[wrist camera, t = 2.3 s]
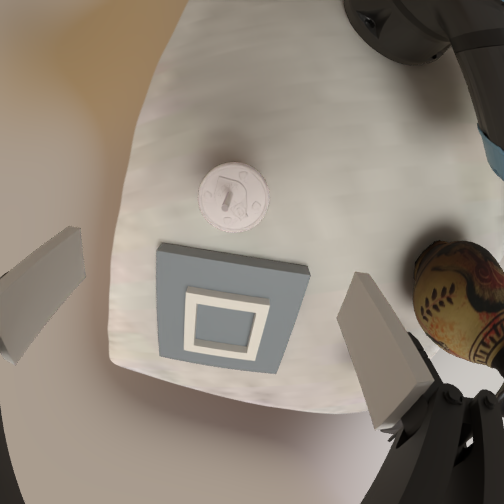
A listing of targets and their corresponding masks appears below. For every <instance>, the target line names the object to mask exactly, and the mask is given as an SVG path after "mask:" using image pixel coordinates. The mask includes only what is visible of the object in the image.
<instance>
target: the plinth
mask: <svg viewBox="0 0 504 504" xmlns="http://www.w3.org/2000/svg"><path fill="white" fill-rule="evenodd" d="M310 276H311V275H310V272H309V269H308V266H304V265H297V264H291V263H285V262H278V261H272V260H266V259H259V258H253V257H247V256H241V255H234V254H228V253H222V252H216V251H210V250H204V249H197V248H191V247H185V246H179V245H173V244H167V243H162V244H161V245H160V247H159V248H158V249H157V256H156V290H157V322H158V340H159V354H160V356H161V357H166V358H170V359H175V360H180V361H185V362H191V363H196V364H202V365H208V366H214V367H221V368H228V369H235V370H243V371H252V372H261V373H271V374H276V373H277V370H278V368H279V365H280V362H281V360H282V357H283V354H284V352H285V349H286V346H287V344H288V341H289V338H290V335H291V332H292V330H293V327H294V324H295V321H296V318H297V315H298V312H299V309H300V306H301V303H302V300H303V297H304V294H305V291H306V288H307V285H308V282H309V279H310Z"/></svg>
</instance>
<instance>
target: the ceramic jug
mask: <svg viewBox="0 0 504 504" xmlns="http://www.w3.org/2000/svg"><path fill="white" fill-rule="evenodd" d="M414 280H415V285H414V290H413V306H414V311H415V314H416V318H417V320H418V322H419V324H420V326H421V327H422V329H423V331H424V332H425V333H426V335H427V336H428V337H429V338H430V339H431V340H432V341H433V342H434V343H435V344H437V345H438V346H439V347H440V348H442V349H443V350H445V351H446V352H448V353H450V354H452V355H455V356H456V357H459V358H462V359H465V360H467V361H470V362H473V363H478V364H483V365H487V366H488V367H491V368H495V369H497V370H498V371H499V373H500V374H501V376H502V377H503V378H504V272H503V270H502V268H501V267H500V265H499V263H498V262H497V261H496V259H495V258H494V257H493V256H492V254H491V253H490V252H489V251H487V250H486V249H485V248H483V247H482V246H480V245H478V244H475V243H473V242H468V241H454V242H450V243H448V242H445V241H440V240H439V241H434V242H433V244H431V245H430V246H429V247H428V248H427V249H426V250H424V251H423V252H422V254H421V255H420V256H419V258H418V259H417V261H416V262H415V271H414ZM495 396H496V398H497V399H498V402H499V405H500V410H501V415H502V417H504V383H503V385H502V386H501V388H500V389H499V391H498V392H497V394H496V395H495Z"/></svg>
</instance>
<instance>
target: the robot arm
mask: <svg viewBox="0 0 504 504" xmlns="http://www.w3.org/2000/svg"><path fill="white" fill-rule="evenodd" d="M344 5H345V10H346V13H347V16H348V18H349V20H350V22H351V24H352V25H353V27H354V28H355V30H356V31H357V32H358V34H359V35H360V36H361V37H362V38H363V39H364V40H365V41H366V42H367V43H368V44H369V45H370V46H371V47H372V48H374V49H375V50H376V51H378V52H379V53H381V54H382V55H384V56H385V57H387V58H389V59H391V60H393V61H396V62H399V63H402V64H406V65H422V64H426V63H430V62H433V61H435V60H437V59H438V58H440V57H441V56H442V55H443V53H444V52H445V51H446V50H447V49H448V48H449V47H450V46H452V48H453V50H454V52H455V55H456V57H457V60H458V62H459V65H460V67H461V70H462V72H463V75H464V78H465V81H466V83H467V86H468V89H469V92H470V96H471V99H472V102H473V105H474V109H475V112H476V116H477V120H478V123H477V126H478V130H479V133H480V134H481V136H482V140H483V144H484V148H485V152H486V157H487V160H488V163H489V165H490V167H491V168H492V170H493V171H494V172H495V173H496V174H497V176H499V177H500V178H501V179H502V180H503V181H504V0H344ZM85 278H86V273H85V266H84V258H83V249H82V239H81V228H77V227H72V226H68V227H67V228H65V229H64V230H63V231H61V232H60V233H58V234H57V235H56V236H54V237H53V238H51V239H50V240H49V241H47V242H46V243H44V244H43V245H42V246H40V247H39V248H38V249H36V250H35V251H34V252H33V253H31V254H30V255H29V256H27V257H26V258H25V259H24V260H22V261H21V262H20V263H19V264H18V265H16V266H15V267H14V268H13V269H11V270H10V271H8V272H7V273H5V274H4V275H3V276H2V277H1V278H0V353H1V355H2V357H3V359H5V360H7V361H8V362H10V363H12V364H14V365H16V364H17V363H18V361H19V360H20V358H21V357H22V356H23V354H24V353H25V351H26V350H27V349H28V347H29V346H30V344H31V343H32V342H33V340H34V339H35V338H36V336H37V335H38V334H39V333H40V331H41V330H42V329H43V327H44V326H45V325H46V324H47V322H48V321H49V320H50V318H51V317H52V316H53V315H54V314H55V312H56V311H57V310H58V309H59V307H60V306H61V305H62V304H63V303H64V301H65V300H66V299H67V298H68V297H69V296H70V295H71V293H72V292H73V291H74V290H75V289H76V288H77V287H78V286H79V284H80V283H81V282H82V281H83V280H84V279H85ZM337 321H338V323H339V326H340V329H341V331H342V334H343V337H344V339H345V342H346V345H347V348H348V350H349V353H350V356H351V359H352V362H353V365H354V367H355V370H356V373H357V376H358V379H359V382H360V385H361V388H362V391H363V394H364V397H365V400H366V403H367V406H368V410H369V413H370V416H371V419H372V422H373V425H374V429H375V430H380V429H387V428H392V427H393V426H394V425H395V424H396V423H397V422H398V421H399V420H400V419H401V421H402V424H403V426H402V427H401V428H400V429H399V430H398V431H397V432H396V433H394V434H393V435H392V436H391V437H390V438H389V440H388V441H389V442H390V441H392V440H393V439H394V438H395V440H394V442H393V444H392V446H391V449H390V451H389V453H388V455H387V457H386V459H385V461H384V463H383V465H382V467H381V469H380V471H379V473H378V474H377V476H376V478H375V480H374V482H373V483H372V485H371V487H370V489H369V490H368V492H367V494H366V495H365V497H364V499H363V500H362V502H361V504H504V426H503V420H502V415H501V410H500V405H499V402H498V399H497V398H496V396H495V395H494V394H493V393H492V392H491V391H488V390H481V391H480V392H479V393H478V394H477V395H476V396H475V397H474V398H467V397H463V394H462V393H461V392H460V390H459V389H458V388H456V387H455V386H454V385H451V384H448V383H447V384H443V382H442V380H441V378H440V377H439V375H438V373H437V371H436V369H435V368H434V366H433V364H432V362H431V361H430V359H429V358H428V356H427V354H426V352H425V351H423V350H424V349H423V347H422V345H421V344H420V342H419V341H418V339H416V338H415V337H414V336H413V335H412V334H411V333H410V332H407V331H406V330H405V328H404V327H403V325H402V323H401V322H400V320H399V318H398V317H397V315H396V314H395V312H394V311H393V309H392V307H391V306H390V304H389V303H388V301H387V300H386V298H385V297H384V295H383V294H382V292H381V291H380V289H379V288H378V286H377V285H376V283H375V282H374V280H373V279H372V278H371V276H370V275H369V274H367V273H360V272H355V273H354V276H353V279H352V281H351V284H350V287H349V289H348V292H347V294H346V297H345V299H344V302H343V304H342V306H341V309H340V311H339V314H338V316H337ZM472 437H473V443H472V444H471V445H470V446H469V447H467V446H466V442H467V441H468V440H469V439H470V438H472ZM0 504H25V502H24V500H23V497H22V495H21V492H20V489H19V486H18V483H17V480H16V477H15V474H14V470H13V467H12V464H11V460H10V456H9V452H8V448H7V443H6V438H5V434H4V429H3V422H2V416H1V408H0Z"/></svg>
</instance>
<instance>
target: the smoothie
mask: <svg viewBox="0 0 504 504" xmlns="http://www.w3.org/2000/svg"><path fill="white" fill-rule="evenodd" d="M269 199H270V194H269V188H268V185H267V182H266V180H265V179H264V177H263V176H262V175H261V173H260V172H259V171H257V170H256V169H255V168H253V167H252V166H249V165H247V164H245V163H240V162H228V163H223V164H221V165H218V166H216V167H215V168H213V169H212V170H211V171H209V172H208V174H207V175H206V176H205V178H204V179H203V181H202V183H201V185H200V187H199V191H198V204H199V208H200V211H201V213H202V215H203V216H204V218H205V219H206V220H207V221H208V222H209V223H210V224H211V225H212V226H214V227H215V228H217V229H219V230H222V231H225V232H232V233H236V232H243V231H246V230H249V229H251V228H253V227H254V226H256V225H257V224H258V223H259V222H260V221H261V220H262V219H263V217H264V216H265V214H266V212H267V210H268V206H269Z"/></svg>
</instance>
